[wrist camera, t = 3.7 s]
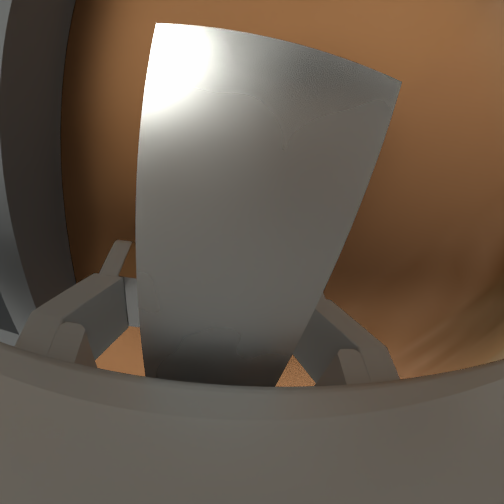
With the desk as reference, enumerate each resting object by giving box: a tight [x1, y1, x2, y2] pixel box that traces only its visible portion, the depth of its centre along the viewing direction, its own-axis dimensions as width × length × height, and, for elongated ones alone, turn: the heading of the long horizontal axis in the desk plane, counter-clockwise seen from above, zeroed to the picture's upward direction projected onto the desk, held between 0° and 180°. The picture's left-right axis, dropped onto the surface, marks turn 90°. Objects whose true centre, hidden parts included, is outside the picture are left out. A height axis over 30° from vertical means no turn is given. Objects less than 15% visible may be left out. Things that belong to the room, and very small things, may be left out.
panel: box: [136, 23, 402, 387], centre depth 8 cm, size 2×12×7 cm, turn 168°
